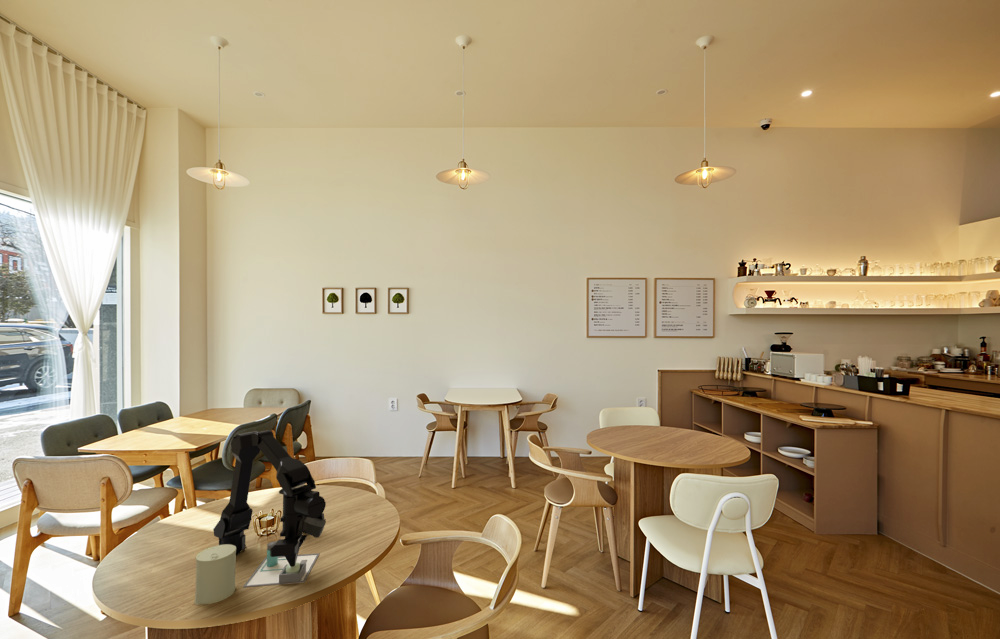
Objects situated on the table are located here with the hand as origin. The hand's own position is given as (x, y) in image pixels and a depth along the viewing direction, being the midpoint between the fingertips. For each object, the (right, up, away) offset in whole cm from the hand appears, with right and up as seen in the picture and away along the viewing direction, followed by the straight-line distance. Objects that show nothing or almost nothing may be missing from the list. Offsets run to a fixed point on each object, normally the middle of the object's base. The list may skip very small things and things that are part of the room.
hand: (292, 565), depth 122 cm
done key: (0, -3, 0) cm, 3 cm away
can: (-17, -4, -8) cm, 19 cm away
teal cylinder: (-10, -4, +7) cm, 12 cm away
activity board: (-5, -4, +4) cm, 7 cm away
